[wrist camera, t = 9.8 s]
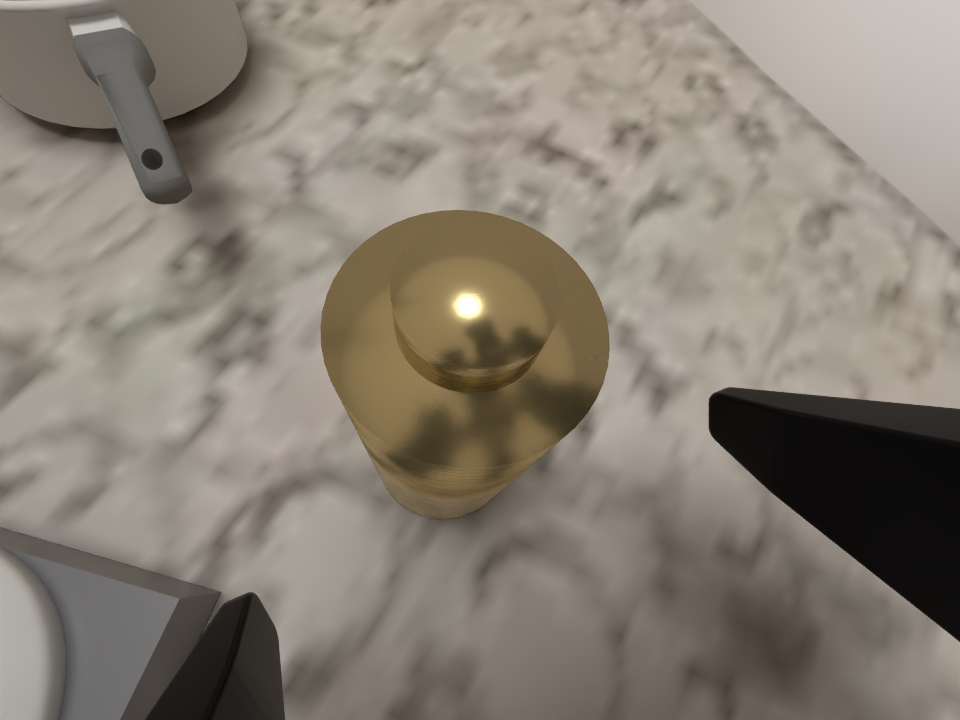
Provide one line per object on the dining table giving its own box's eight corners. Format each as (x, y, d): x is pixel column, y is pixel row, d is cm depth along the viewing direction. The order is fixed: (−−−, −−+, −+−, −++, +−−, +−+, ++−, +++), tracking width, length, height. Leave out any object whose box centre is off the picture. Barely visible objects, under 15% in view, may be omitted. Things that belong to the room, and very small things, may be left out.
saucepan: (70, 356, 15) (-103, 257, 10) (-29, 20, 21) (-169, -147, 16) (376, 242, 19) (359, 125, 14) (218, -21, 25) (166, -169, 20)
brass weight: (534, 442, 16) (690, 282, 7) (451, 550, 14) (507, 537, 5) (437, 363, 17) (457, 123, 7) (347, 457, 15) (227, 294, 6)
